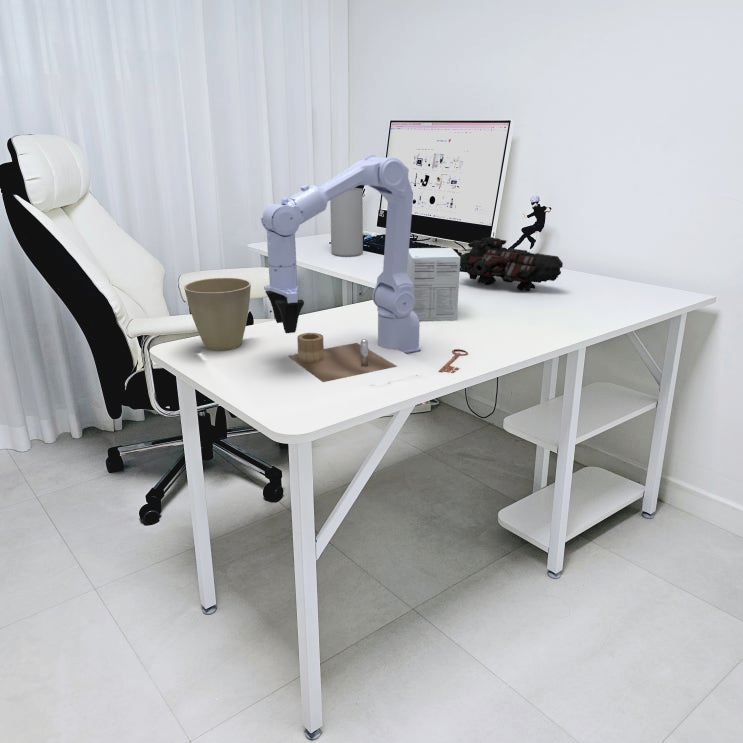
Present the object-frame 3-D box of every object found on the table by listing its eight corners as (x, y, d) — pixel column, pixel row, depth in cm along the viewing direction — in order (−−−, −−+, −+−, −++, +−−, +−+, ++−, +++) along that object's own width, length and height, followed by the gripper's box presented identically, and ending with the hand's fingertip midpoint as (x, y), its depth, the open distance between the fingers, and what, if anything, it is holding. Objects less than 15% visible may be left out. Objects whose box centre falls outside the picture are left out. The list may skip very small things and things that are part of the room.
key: (456, 378, 142) (477, 355, 155) (457, 374, 142) (478, 352, 154) (431, 371, 144) (454, 350, 157) (431, 368, 144) (454, 346, 157)
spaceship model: (545, 302, 197) (550, 252, 191) (451, 285, 215) (453, 239, 210) (570, 289, 211) (575, 242, 206) (480, 275, 229) (482, 231, 224)
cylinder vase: (350, 258, 255) (350, 191, 246) (325, 254, 261) (323, 189, 252) (368, 253, 265) (368, 188, 256) (343, 249, 271) (342, 187, 262)
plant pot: (264, 342, 162) (260, 278, 156) (239, 363, 148) (234, 294, 142) (208, 338, 165) (202, 275, 159) (179, 358, 151) (171, 290, 145)
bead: (316, 352, 151) (316, 331, 149) (327, 359, 146) (327, 338, 144) (294, 356, 148) (293, 335, 146) (305, 364, 144) (304, 342, 142)
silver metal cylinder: (365, 363, 144) (365, 337, 142) (369, 365, 143) (369, 339, 140) (359, 364, 143) (359, 338, 141) (363, 367, 142) (362, 340, 140)
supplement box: (458, 320, 179) (461, 256, 173) (409, 321, 178) (411, 257, 172) (449, 307, 191) (452, 247, 185) (404, 308, 190) (405, 247, 184)
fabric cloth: (357, 348, 158) (356, 342, 157) (397, 372, 143) (397, 366, 143) (287, 362, 149) (287, 355, 148) (323, 388, 135) (323, 382, 134)
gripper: (255, 258, 140) (259, 319, 145) (271, 273, 128) (275, 339, 133) (288, 256, 143) (290, 316, 148) (306, 270, 130) (309, 335, 135)
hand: (285, 327), depth 140 cm, fingers open, 7 cm apart
